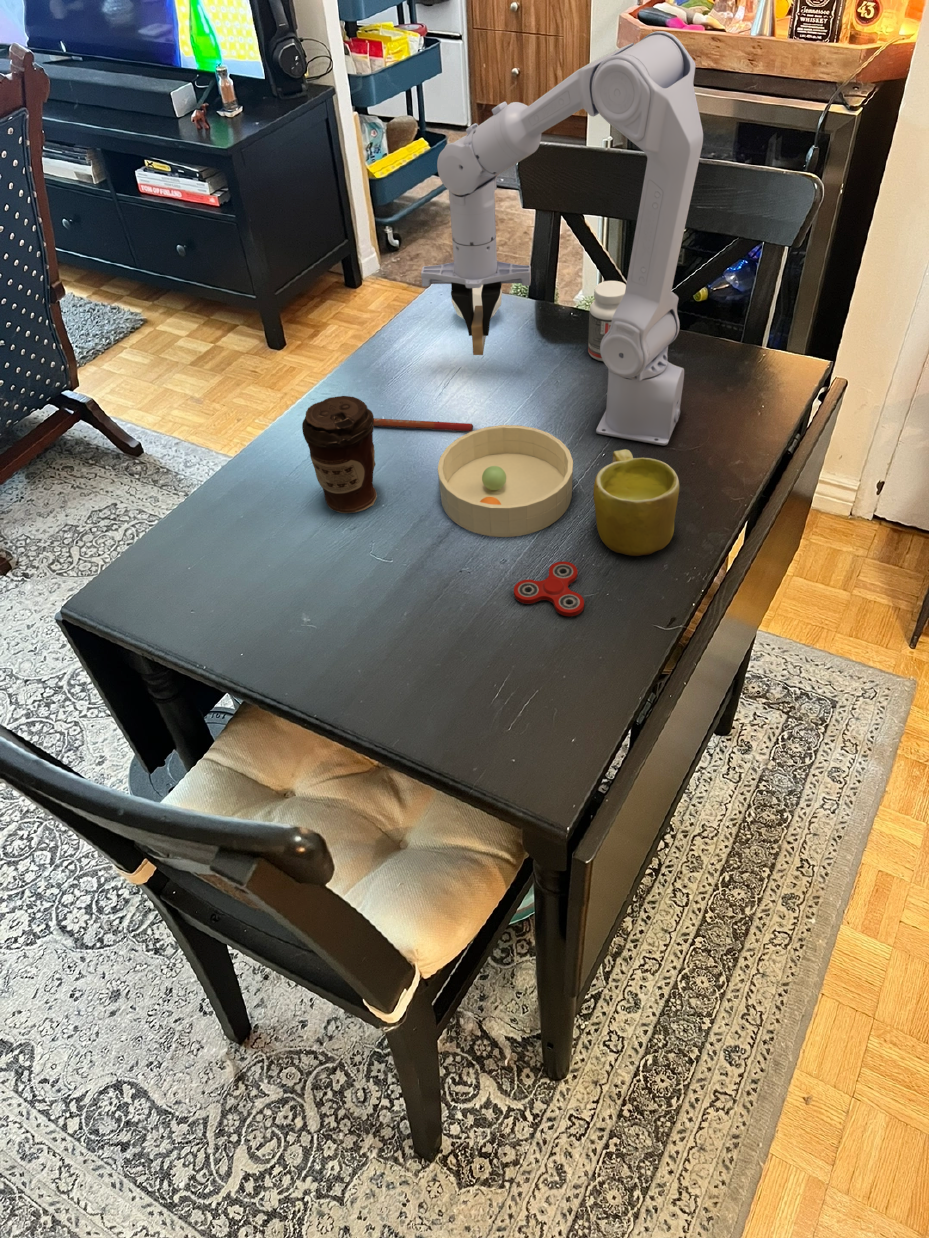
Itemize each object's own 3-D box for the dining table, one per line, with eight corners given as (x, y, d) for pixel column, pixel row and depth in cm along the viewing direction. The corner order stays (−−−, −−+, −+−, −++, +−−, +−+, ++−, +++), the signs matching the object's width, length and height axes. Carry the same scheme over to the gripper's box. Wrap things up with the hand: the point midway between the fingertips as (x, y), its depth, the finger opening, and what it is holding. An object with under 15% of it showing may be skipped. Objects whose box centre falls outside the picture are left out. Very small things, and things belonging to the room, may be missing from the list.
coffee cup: (374, 525, 110) (358, 436, 101) (309, 519, 112) (287, 431, 102) (392, 480, 116) (379, 392, 107) (330, 475, 118) (312, 388, 108)
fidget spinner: (509, 601, 100) (509, 592, 99) (535, 558, 105) (535, 550, 104) (577, 621, 97) (577, 613, 96) (601, 577, 102) (602, 569, 101)
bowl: (588, 467, 116) (589, 437, 112) (547, 549, 105) (547, 520, 102) (469, 444, 120) (467, 415, 117) (420, 521, 110) (416, 492, 107)
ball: (489, 338, 144) (501, 314, 136) (441, 322, 142) (450, 297, 135) (500, 296, 145) (513, 269, 137) (452, 279, 144) (462, 252, 136)
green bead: (493, 493, 110) (484, 495, 113) (513, 483, 111) (504, 485, 114) (483, 470, 110) (474, 472, 113) (504, 460, 111) (495, 463, 113)
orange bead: (503, 497, 106) (491, 520, 106) (509, 507, 109) (498, 529, 109) (481, 489, 107) (469, 511, 107) (487, 499, 110) (476, 520, 110)
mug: (696, 554, 101) (675, 477, 95) (606, 576, 104) (581, 502, 98) (687, 501, 110) (667, 428, 105) (604, 523, 113) (582, 453, 108)
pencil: (473, 428, 122) (473, 422, 122) (472, 433, 122) (472, 426, 121) (338, 420, 126) (337, 415, 125) (336, 425, 125) (335, 419, 124)
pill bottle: (629, 362, 132) (634, 297, 124) (589, 364, 132) (592, 299, 125) (624, 341, 135) (629, 277, 128) (586, 343, 136) (589, 279, 129)
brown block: (473, 355, 127) (471, 326, 124) (476, 334, 131) (475, 305, 128) (483, 355, 127) (481, 326, 124) (486, 334, 131) (485, 305, 127)
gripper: (414, 251, 116) (424, 347, 126) (528, 250, 114) (529, 347, 124) (421, 226, 121) (430, 321, 130) (531, 225, 119) (531, 321, 129)
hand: (479, 332), depth 128 cm, fingers closed on brown block, 1 cm apart
